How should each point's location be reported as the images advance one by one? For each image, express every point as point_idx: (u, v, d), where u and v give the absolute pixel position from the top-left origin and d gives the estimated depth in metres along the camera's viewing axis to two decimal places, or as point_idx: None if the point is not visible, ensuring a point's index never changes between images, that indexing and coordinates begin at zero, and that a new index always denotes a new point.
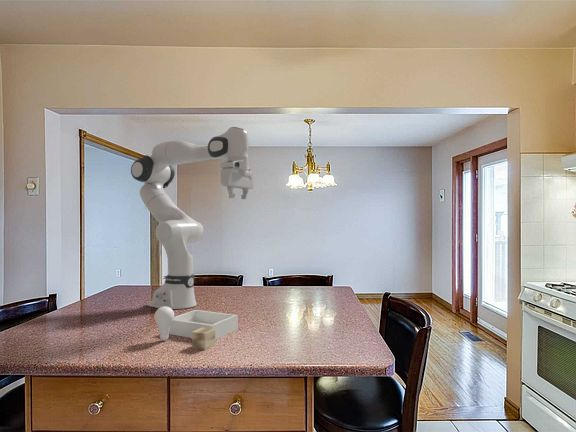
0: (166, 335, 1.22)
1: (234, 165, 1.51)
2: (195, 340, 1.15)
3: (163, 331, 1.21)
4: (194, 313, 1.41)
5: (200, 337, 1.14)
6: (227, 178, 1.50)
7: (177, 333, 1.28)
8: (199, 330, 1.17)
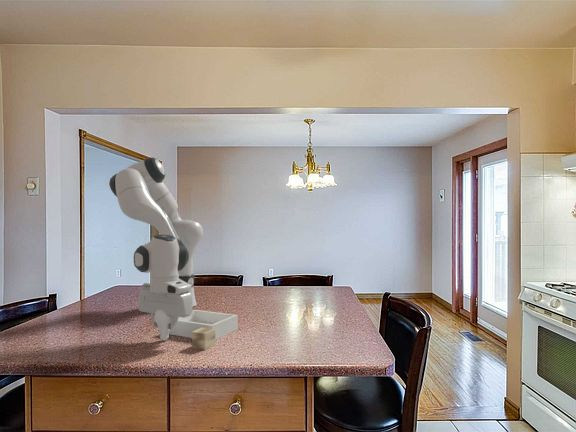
0: (166, 335, 1.22)
1: None
2: (195, 340, 1.15)
3: (163, 331, 1.21)
4: (194, 313, 1.41)
5: (200, 337, 1.14)
6: (191, 307, 1.19)
7: (177, 333, 1.28)
8: (199, 330, 1.17)
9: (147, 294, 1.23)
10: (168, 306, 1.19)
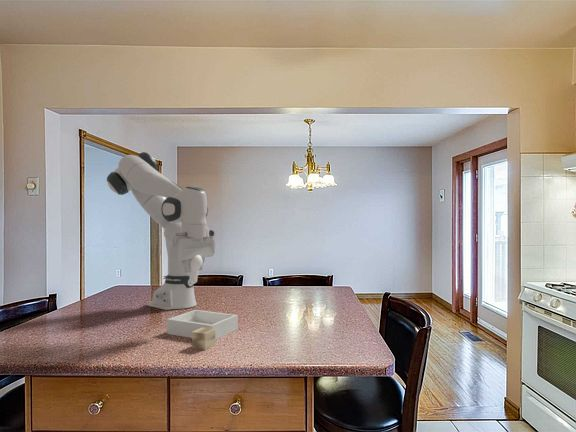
0: None
1: None
2: (195, 340, 1.15)
3: None
4: (194, 313, 1.41)
5: (200, 337, 1.14)
6: None
7: (177, 333, 1.28)
8: (199, 330, 1.17)
9: (187, 242, 1.29)
10: (204, 249, 1.37)
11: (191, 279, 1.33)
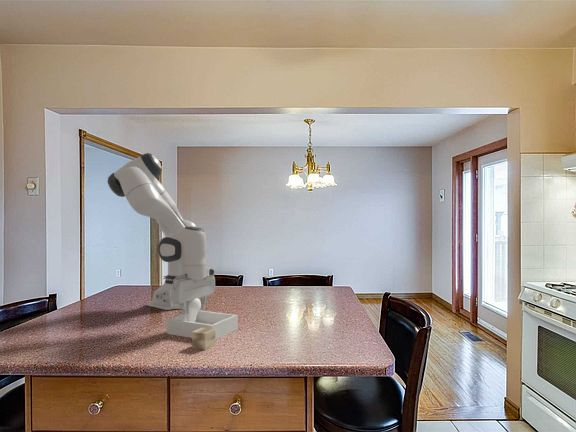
0: None
1: None
2: (195, 340, 1.15)
3: (195, 318, 1.33)
4: None
5: (200, 337, 1.14)
6: None
7: (177, 333, 1.28)
8: (199, 330, 1.17)
9: (187, 284, 1.29)
10: (204, 288, 1.37)
11: None
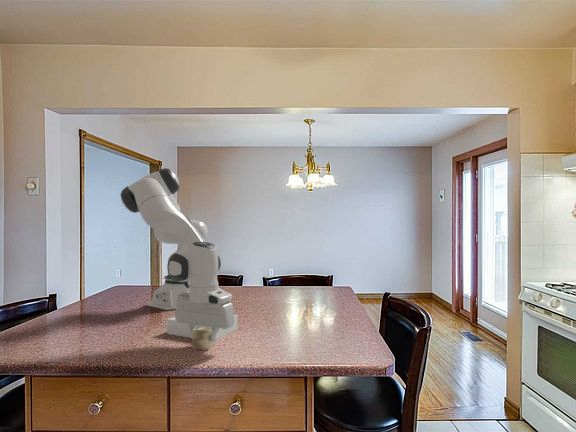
0: None
1: None
2: (195, 340, 1.15)
3: None
4: None
5: (200, 337, 1.14)
6: (233, 318, 1.14)
7: (177, 333, 1.28)
8: (199, 330, 1.17)
9: (185, 304, 1.18)
10: (209, 317, 1.14)
11: None
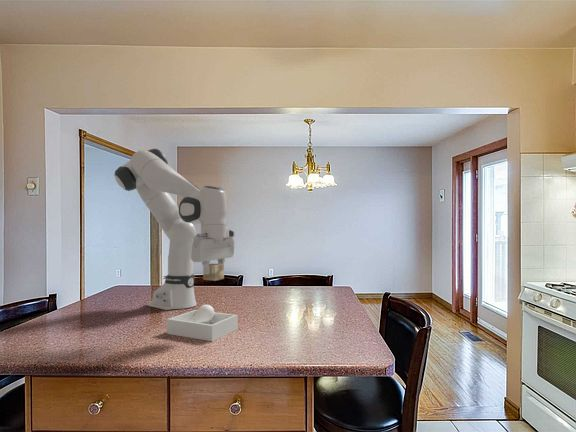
0: None
1: None
2: (217, 273, 1.28)
3: None
4: (194, 313, 1.41)
5: (220, 268, 1.30)
6: None
7: (177, 333, 1.28)
8: (212, 265, 1.29)
9: (208, 243, 1.25)
10: (223, 250, 1.33)
11: (192, 321, 1.32)
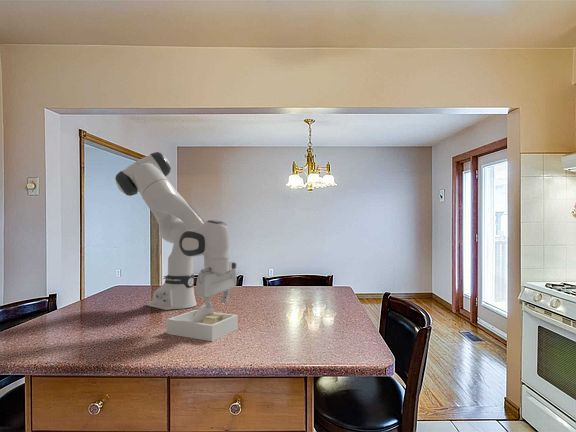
0: None
1: None
2: None
3: None
4: (194, 313, 1.41)
5: (220, 319, 1.30)
6: None
7: (177, 333, 1.28)
8: (212, 316, 1.29)
9: (212, 277, 1.28)
10: (226, 282, 1.37)
11: (192, 321, 1.32)
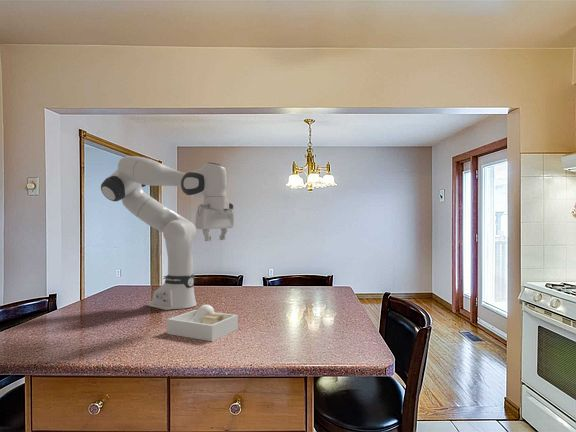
0: None
1: None
2: None
3: None
4: (194, 313, 1.41)
5: (220, 319, 1.30)
6: None
7: (177, 333, 1.28)
8: (212, 316, 1.29)
9: (210, 212, 1.40)
10: (224, 220, 1.48)
11: (192, 321, 1.32)
